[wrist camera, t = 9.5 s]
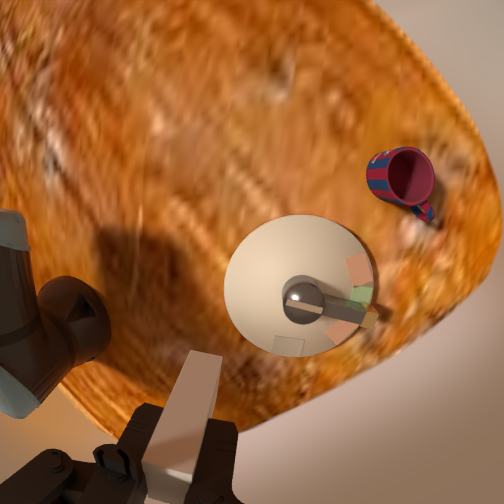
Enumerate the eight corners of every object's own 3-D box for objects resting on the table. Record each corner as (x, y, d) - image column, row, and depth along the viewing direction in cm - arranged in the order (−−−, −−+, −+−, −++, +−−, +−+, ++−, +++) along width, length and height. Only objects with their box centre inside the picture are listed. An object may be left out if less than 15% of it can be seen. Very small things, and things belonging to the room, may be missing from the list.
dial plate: (216, 339, 42) (215, 345, 40) (238, 201, 37) (236, 202, 35) (347, 358, 42) (349, 364, 40) (385, 230, 37) (390, 232, 35)
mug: (394, 143, 34) (417, 137, 27) (427, 207, 36) (452, 212, 29) (356, 166, 35) (374, 163, 29) (391, 231, 37) (413, 241, 30)
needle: (276, 305, 38) (277, 319, 34) (288, 270, 37) (290, 281, 33) (361, 326, 38) (369, 341, 34) (374, 294, 37) (385, 306, 33)
